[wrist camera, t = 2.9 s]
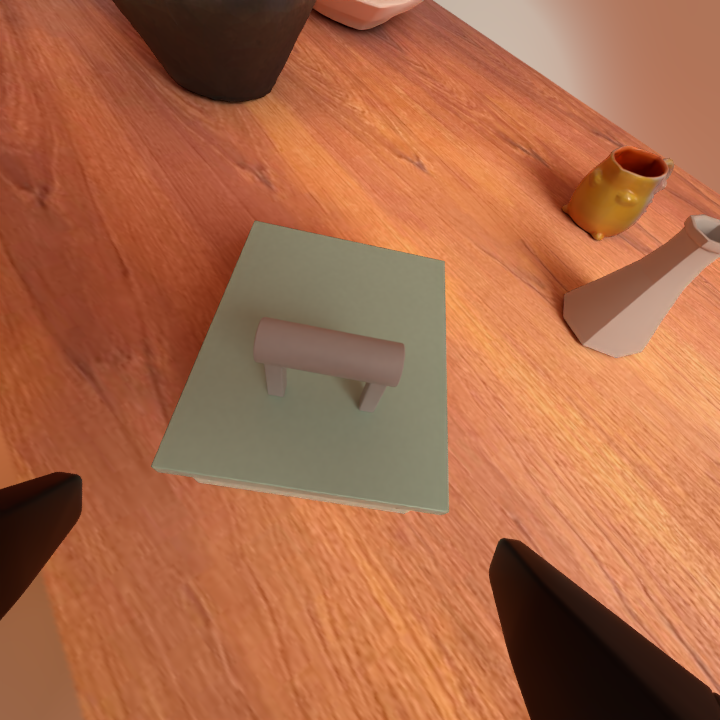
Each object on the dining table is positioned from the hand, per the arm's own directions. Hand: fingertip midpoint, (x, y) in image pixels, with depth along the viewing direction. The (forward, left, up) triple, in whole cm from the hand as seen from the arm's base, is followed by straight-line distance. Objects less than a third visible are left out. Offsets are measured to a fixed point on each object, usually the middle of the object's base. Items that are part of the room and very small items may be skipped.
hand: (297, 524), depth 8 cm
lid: (+8, +4, -7) cm, 11 cm away
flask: (+28, -12, -13) cm, 33 cm away
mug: (+45, -10, -13) cm, 48 cm away
